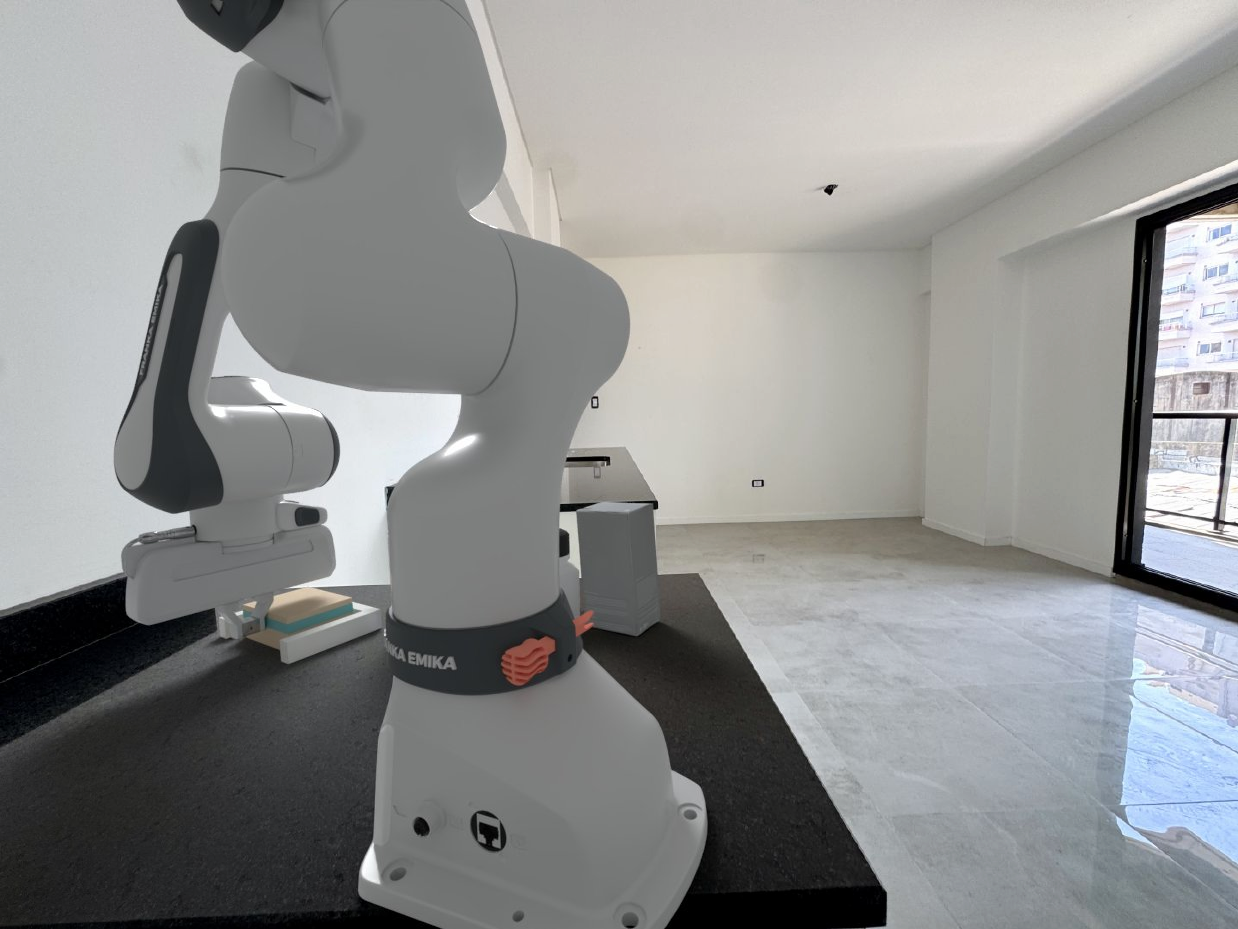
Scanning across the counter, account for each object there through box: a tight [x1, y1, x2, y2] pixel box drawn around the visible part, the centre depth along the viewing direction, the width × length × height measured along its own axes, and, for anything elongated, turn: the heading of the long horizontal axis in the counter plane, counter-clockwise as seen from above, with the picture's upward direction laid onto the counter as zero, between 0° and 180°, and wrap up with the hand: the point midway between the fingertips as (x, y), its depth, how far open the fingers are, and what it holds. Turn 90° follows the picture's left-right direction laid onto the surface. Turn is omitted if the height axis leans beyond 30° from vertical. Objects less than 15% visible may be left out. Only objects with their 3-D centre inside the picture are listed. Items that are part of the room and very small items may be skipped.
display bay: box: [218, 601, 382, 665], centre depth 66 cm, size 16×12×2 cm
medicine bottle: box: [559, 527, 581, 619], centre depth 69 cm, size 7×7×12 cm
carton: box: [242, 586, 353, 651], centre depth 65 cm, size 10×8×4 cm
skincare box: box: [575, 501, 662, 637], centre depth 66 cm, size 8×7×16 cm
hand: (248, 634), depth 60 cm, fingers closed
